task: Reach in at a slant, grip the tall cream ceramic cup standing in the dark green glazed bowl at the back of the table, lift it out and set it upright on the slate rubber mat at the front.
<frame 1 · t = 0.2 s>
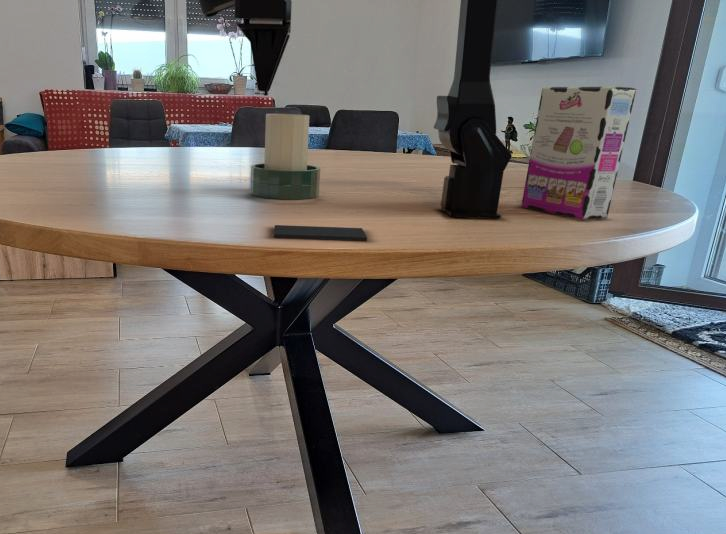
hand: (263, 91, 81), 15 cm above the table, tool pointing down, fingers open, 9 cm apart
mat: (319, 234, 71), on the table
cup: (284, 194, 94), point 1 cm above the table, touching bowl
candy bar box: (562, 214, 89), on the table
bowl: (284, 198, 94), on the table
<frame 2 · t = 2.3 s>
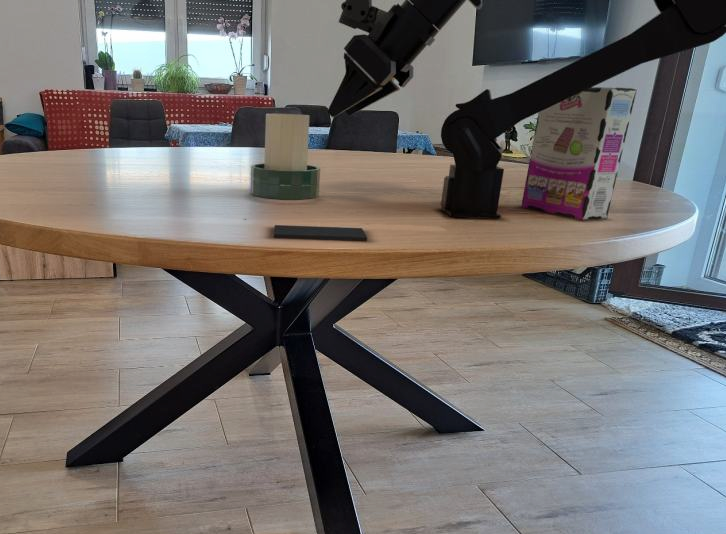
hand: (338, 114, 87), 12 cm above the table, tool tilted 40°, fingers open, 9 cm apart
candy bar box: (561, 214, 89), on the table, touching arm
everything else where it was.
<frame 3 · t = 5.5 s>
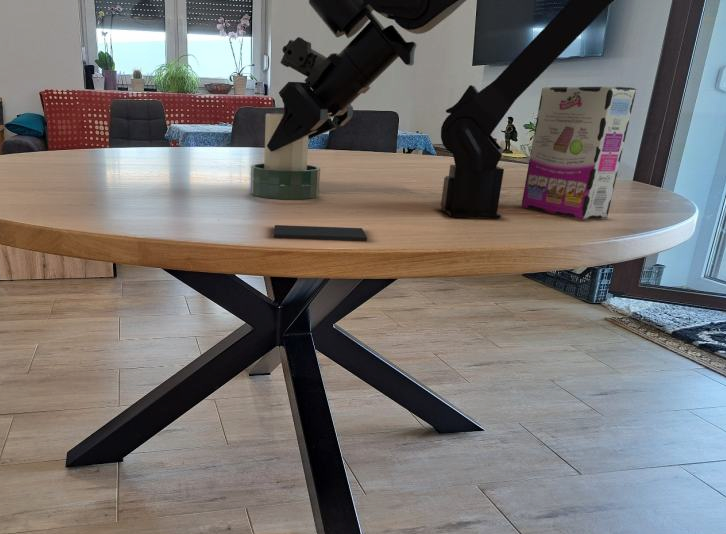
hand: (277, 147, 92), 7 cm above the table, tool tilted 45°, fingers closed on cup, 6 cm apart
cup: (284, 194, 94), point 1 cm above the table, touching bowl, gripper
candy bar box: (562, 214, 89), on the table
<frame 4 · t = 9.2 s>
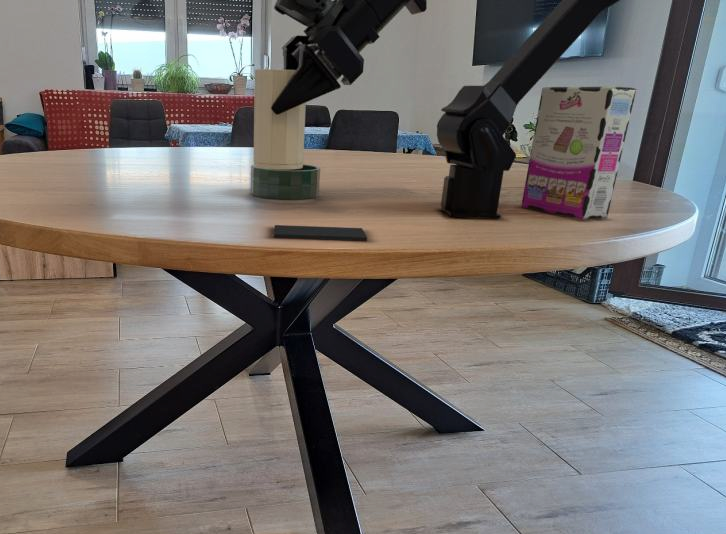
hand: (268, 110, 76), 12 cm above the table, tool tilted 45°, fingers closed on cup, 6 cm apart
cup: (278, 166, 79), point 6 cm above the table, touching gripper
everything else where it was.
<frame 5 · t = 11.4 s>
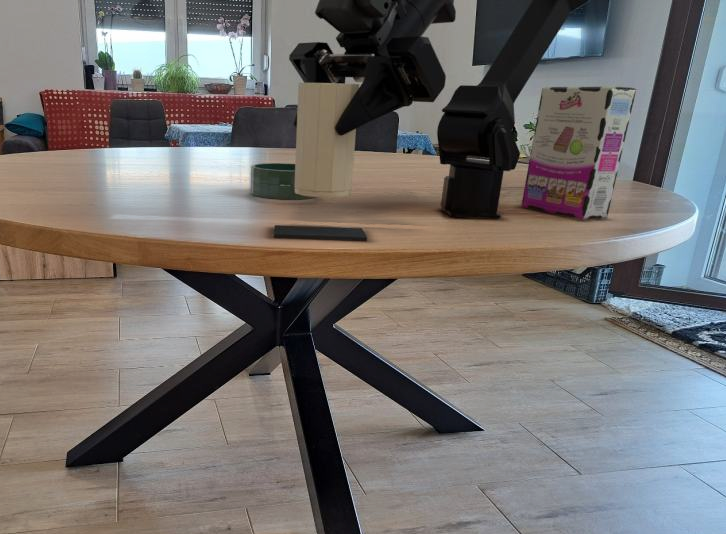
hand: (316, 130, 66), 11 cm above the table, tool tilted 45°, fingers closed on cup, 6 cm apart
cup: (322, 193, 69), point 5 cm above the table, touching gripper
everything else where it was.
when the fingers open (7 cm above the table, at t = 13.1 s): cup stays where it is, resting on mat.
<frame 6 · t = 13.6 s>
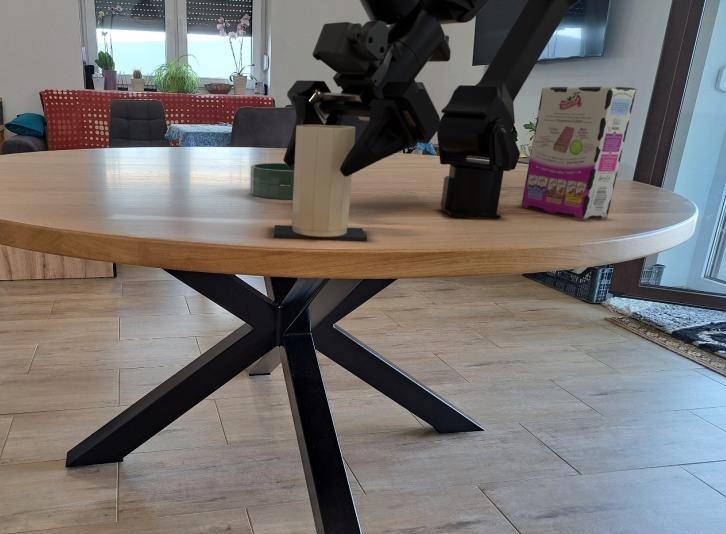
hand: (313, 168, 67), 7 cm above the table, tool tilted 45°, fingers open, 9 cm apart
cup: (319, 230, 70), resting on mat
everything else where it was.
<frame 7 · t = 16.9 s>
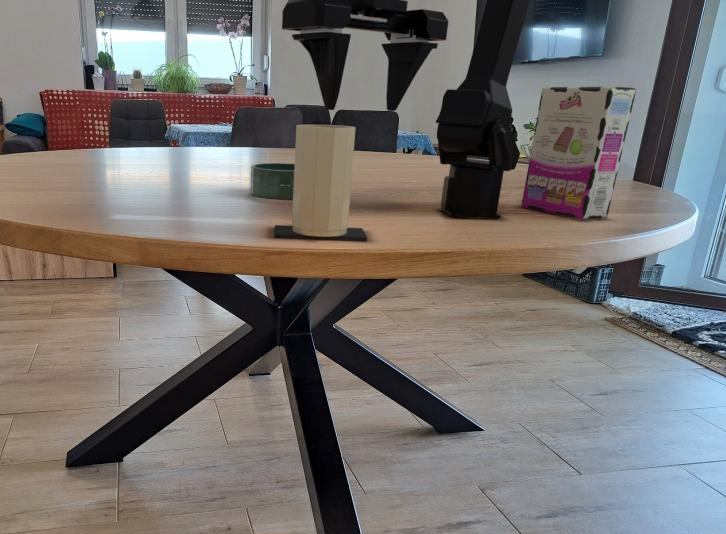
hand: (361, 110, 69), 13 cm above the table, tool pointing down, fingers open, 9 cm apart
nothing on the table moved.
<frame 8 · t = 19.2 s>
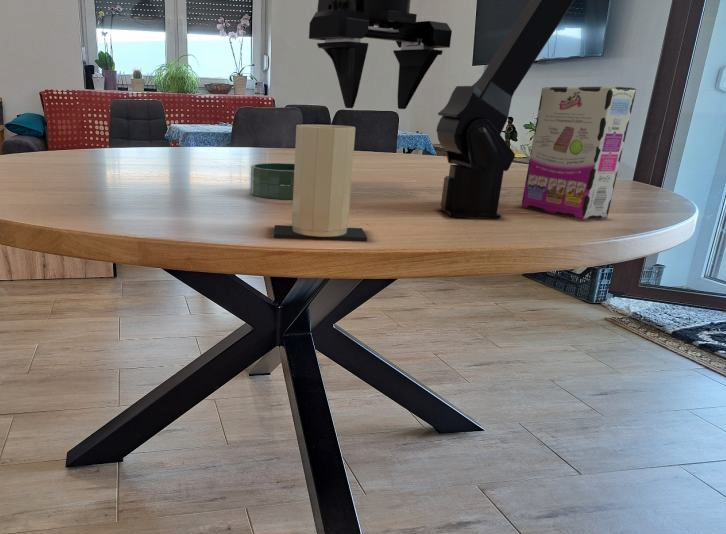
hand: (376, 108, 79), 13 cm above the table, tool pointing down, fingers open, 9 cm apart
nothing on the table moved.
at the end: cup inside the target area on the mat (0.0 cm from its centre), point 0.4 cm above the mat's base; cup tilted 0°; the gripper is holding nothing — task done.
